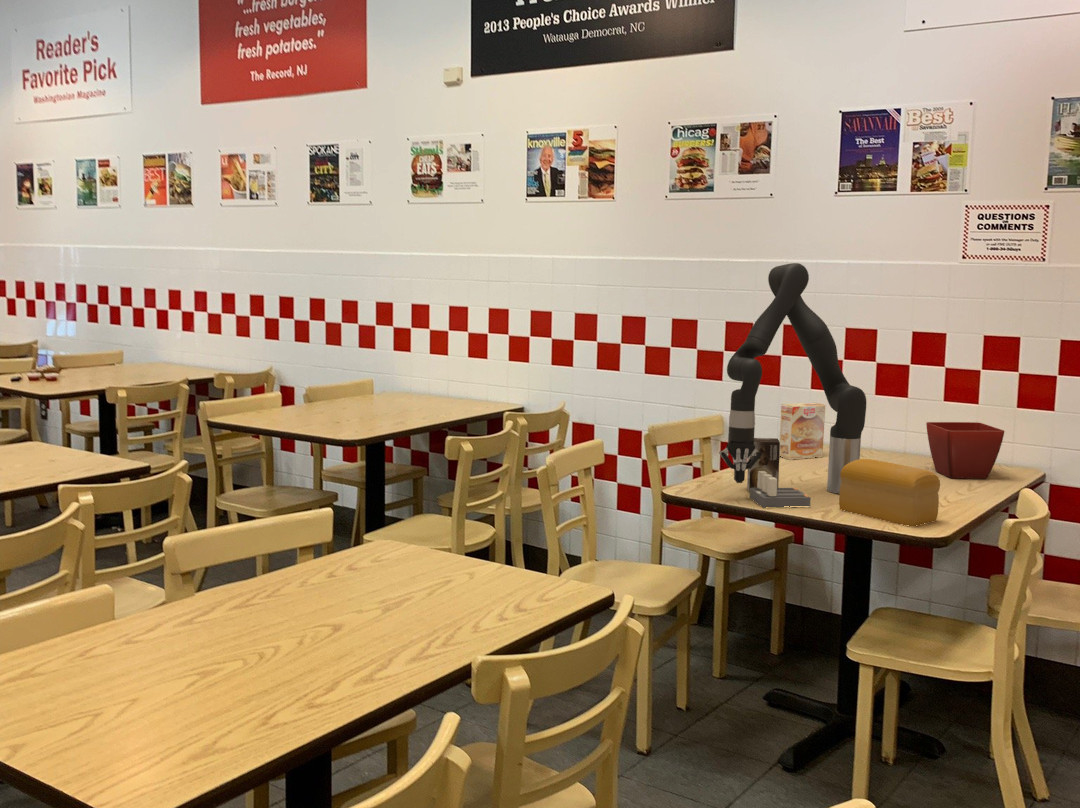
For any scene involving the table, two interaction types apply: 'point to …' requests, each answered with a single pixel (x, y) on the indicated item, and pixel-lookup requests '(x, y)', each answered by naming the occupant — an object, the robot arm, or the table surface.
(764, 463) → the coffee box
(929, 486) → the bread
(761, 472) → the tab
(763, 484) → the tab
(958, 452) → the plant pot
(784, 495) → the switch panel
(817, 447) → the coffeecake box
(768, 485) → the tab
